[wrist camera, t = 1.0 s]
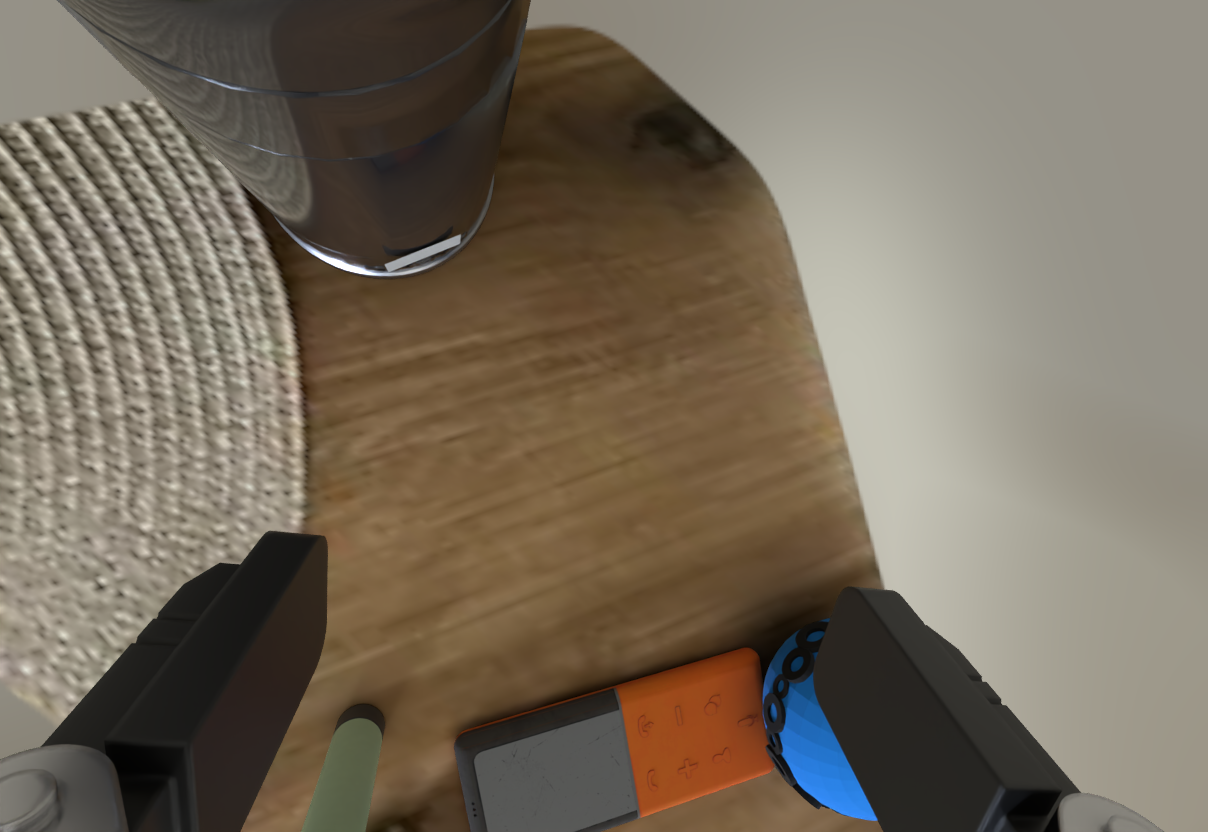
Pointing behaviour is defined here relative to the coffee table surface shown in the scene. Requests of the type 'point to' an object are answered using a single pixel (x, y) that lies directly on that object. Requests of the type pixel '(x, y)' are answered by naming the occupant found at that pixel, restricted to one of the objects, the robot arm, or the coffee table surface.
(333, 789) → the stylus
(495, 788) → the phone
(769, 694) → the ornament
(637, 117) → the coffee table surface
